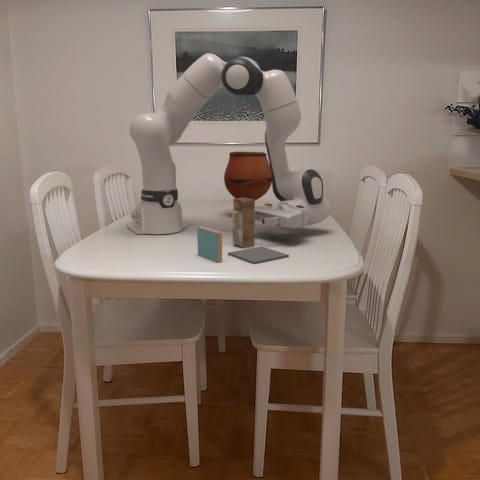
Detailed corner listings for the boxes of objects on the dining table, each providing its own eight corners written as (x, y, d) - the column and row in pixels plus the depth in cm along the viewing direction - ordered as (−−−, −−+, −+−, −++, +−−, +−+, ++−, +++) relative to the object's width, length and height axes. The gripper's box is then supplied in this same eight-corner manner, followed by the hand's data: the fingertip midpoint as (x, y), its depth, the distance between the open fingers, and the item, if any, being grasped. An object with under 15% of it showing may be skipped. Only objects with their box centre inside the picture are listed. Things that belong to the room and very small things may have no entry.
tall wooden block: (232, 245, 148) (231, 198, 145) (244, 243, 151) (244, 197, 148) (241, 248, 144) (241, 200, 141) (254, 246, 147) (254, 199, 144)
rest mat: (227, 254, 137) (227, 252, 137) (261, 248, 144) (261, 246, 144) (254, 264, 128) (254, 262, 128) (288, 257, 135) (288, 254, 135)
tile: (197, 254, 138) (197, 226, 136) (202, 254, 138) (201, 226, 137) (217, 262, 130) (217, 233, 128) (222, 261, 131) (221, 232, 129)
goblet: (256, 222, 182) (257, 154, 176) (214, 217, 192) (213, 152, 186) (280, 214, 198) (281, 151, 192) (239, 210, 208) (239, 150, 202)
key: (282, 211, 209) (276, 205, 224) (282, 209, 209) (276, 203, 224) (269, 210, 209) (263, 204, 223) (269, 208, 209) (264, 202, 223)
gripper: (267, 200, 164) (233, 204, 156) (311, 208, 148) (275, 213, 140) (267, 219, 165) (233, 223, 157) (310, 229, 149) (275, 235, 141)
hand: (253, 219), depth 149 cm, fingers open, 8 cm apart
